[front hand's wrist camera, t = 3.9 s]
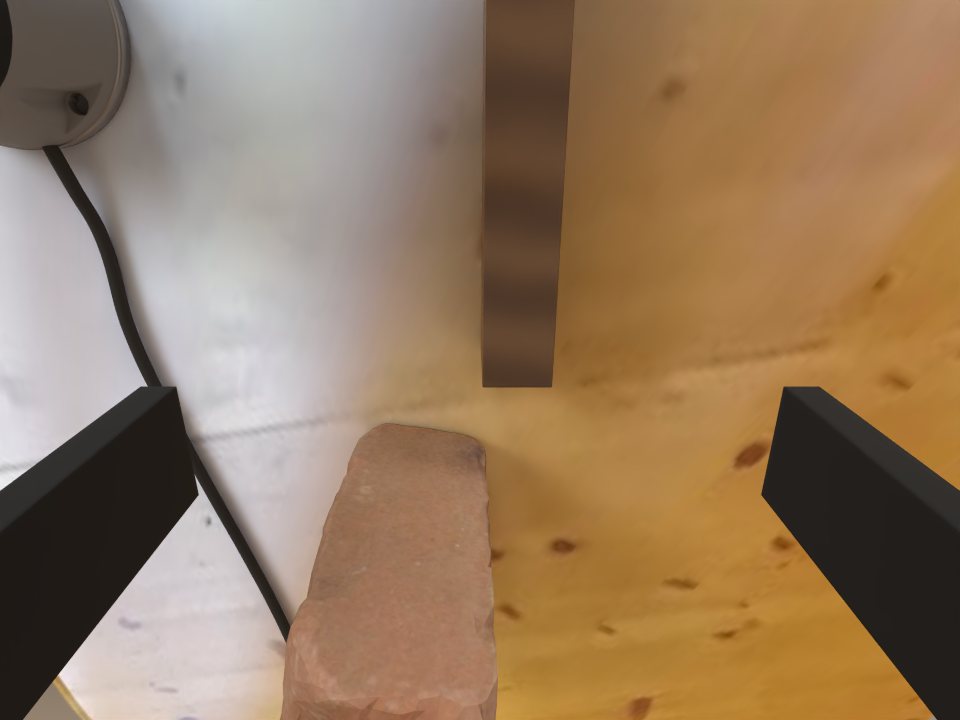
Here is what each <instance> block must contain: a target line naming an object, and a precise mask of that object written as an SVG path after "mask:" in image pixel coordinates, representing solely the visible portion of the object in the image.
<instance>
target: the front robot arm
mask: <svg viewBox="0 0 960 720" xmlns="http://www.w3.org/2000/svg"><path fill="white" fill-rule="evenodd" d="M129 72H130V42H129V35H128V29H127V25H126V21H125V17H124V14H123V11H122V8H121V5H120V2H119V0H0V146H5V147H10V148H17V149H26V150H41V149H43V151H44V152H45V154H46V156H47V157H48V159H49V161H50V163H51V164H52V166H53V168H54V169H55V171H56V173H57V175H58V176H59V178H60V180H61V182H62V183H63V185H64V187H65V188H66V190H67V192H68V193H69V195H70V197H71V198H72V200H73V201H74V203H75V205H76V206H77V208H78V209H79V211H80V212H81V214H82V215H83V217H84V219H85V220H86V222H87V224H88V226H89V227H90V229H91V231H92V234H93V236H94V238H95V241H96V243H97V246H98V248H99V251H100V254H101V257H102V260H103V263H104V266H105V270H106V274H107V278H108V282H109V286H110V290H111V294H112V298H113V302H114V306H115V309H116V313H117V316H118V319H119V322H120V325H121V328H122V330H123V333H124V335H125V338H126V340H127V343H128V345H129V348H130V350H131V352H132V354H133V357H134V359H135V361H136V363H137V365H138V368H139V370H140V372H141V374H142V376H143V378H144V380H145V382H146V384H147V386H148V387H140V388H138V389H137V390H136V391H134V392H133V393H132V394H130V395H129V396H127V397H126V398H125V399H123V400H122V401H121V402H119V403H118V404H117V405H115V406H114V407H113V408H111V409H110V410H109V411H107V412H106V413H105V414H103V415H102V416H101V417H99V418H98V419H96V420H95V421H94V422H92V423H91V424H90V425H88V426H87V427H86V428H84V429H83V430H82V431H80V432H79V433H78V434H76V435H75V436H74V437H72V438H71V439H70V440H68V441H67V442H65V443H64V444H63V445H61V446H60V447H59V448H57V449H56V450H55V451H53V452H52V453H51V454H49V455H48V456H47V457H45V458H44V459H43V460H41V461H40V462H38V463H37V464H36V465H34V466H33V467H32V468H30V469H29V470H28V471H26V472H25V473H24V474H22V475H21V476H20V477H18V478H17V479H16V480H14V481H13V482H12V483H10V484H9V485H7V486H6V487H5V488H3V489H2V490H1V491H0V720H23V719H24V718H25V716H26V715H27V714H28V713H29V711H30V710H31V709H32V707H33V706H34V705H35V704H36V702H37V701H38V700H39V698H40V697H41V696H42V695H43V693H44V692H45V691H46V689H47V688H48V687H49V686H50V684H51V683H52V682H53V681H54V679H55V678H56V677H57V675H58V674H59V673H60V672H61V670H62V669H63V668H64V666H65V665H66V664H67V663H68V661H69V660H70V659H71V658H72V656H73V655H74V654H75V652H76V651H77V650H78V649H79V647H80V646H81V645H82V643H83V642H84V641H85V640H86V638H87V637H88V636H89V635H90V633H91V632H92V631H93V629H94V628H95V627H96V626H97V624H98V623H99V622H100V620H101V619H102V618H103V617H104V615H105V614H106V613H107V611H108V610H109V609H110V608H111V606H112V605H113V604H114V603H115V601H116V600H117V599H118V597H119V596H120V595H121V594H122V592H123V591H124V590H125V588H126V587H127V586H128V585H129V583H130V582H131V581H132V580H133V578H134V577H135V576H136V574H137V573H138V572H139V571H140V569H141V568H142V567H143V565H144V564H145V563H146V562H147V560H148V559H149V558H150V556H151V555H152V554H153V553H154V551H155V550H156V549H157V548H158V546H159V545H160V544H161V542H162V541H163V540H164V539H165V537H166V536H167V535H168V533H169V532H170V531H171V530H172V528H173V527H174V526H175V525H176V523H177V522H178V521H179V519H180V518H181V517H182V516H183V514H184V513H185V512H186V510H187V509H188V508H189V507H190V505H191V504H192V503H193V501H194V500H195V499H196V498H197V496H198V495H199V494H198V489H197V484H196V479H195V476H196V478H197V479H198V481H199V483H200V485H201V486H202V488H203V490H204V492H205V494H206V495H207V497H208V499H209V501H210V502H211V504H212V506H213V508H214V509H215V511H216V513H217V515H218V516H219V518H220V520H221V522H222V523H223V525H224V527H225V529H226V530H227V532H228V534H229V535H230V537H231V539H232V541H233V542H234V544H235V546H236V548H237V549H238V551H239V553H240V555H241V557H242V558H243V560H244V562H245V564H246V566H247V567H248V569H249V571H250V573H251V575H252V577H253V578H254V580H255V582H256V584H257V586H258V587H259V589H260V591H261V593H262V595H263V597H264V599H265V601H266V603H267V605H268V606H269V608H270V610H271V612H272V614H273V616H274V618H275V620H276V623H277V625H278V627H279V629H280V631H281V633H282V635H283V637H284V639H285V641H286V644H287V639H288V635H289V631H290V628H291V627H290V625H289V623H288V621H287V619H286V617H285V615H284V613H283V611H282V608H281V606H280V604H279V602H278V600H277V598H276V596H275V594H274V593H273V591H272V589H271V587H270V585H269V583H268V581H267V579H266V577H265V575H264V574H263V572H262V570H261V568H260V566H259V564H258V563H257V561H256V559H255V557H254V555H253V553H252V551H251V550H250V548H249V546H248V544H247V542H246V541H245V539H244V537H243V535H242V533H241V532H240V530H239V528H238V526H237V525H236V523H235V521H234V519H233V518H232V516H231V514H230V512H229V511H228V509H227V507H226V505H225V503H224V502H223V500H222V498H221V496H220V494H219V493H218V491H217V489H216V487H215V485H214V484H213V482H212V480H211V478H210V476H209V474H208V473H207V471H206V469H205V467H204V465H203V464H202V462H201V460H200V458H199V456H198V454H197V453H196V451H195V449H194V447H193V445H192V443H191V442H190V440H189V438H188V436H187V434H186V431H185V427H184V422H183V417H182V412H181V407H180V403H179V398H178V393H177V388H176V387H162V385H161V383H160V381H159V379H158V377H157V375H156V373H155V371H154V369H153V367H152V365H151V362H150V360H149V358H148V356H147V354H146V351H145V349H144V347H143V344H142V342H141V339H140V337H139V334H138V332H137V329H136V326H135V324H134V321H133V318H132V315H131V311H130V308H129V304H128V300H127V296H126V292H125V288H124V284H123V279H122V275H121V271H120V267H119V264H118V260H117V257H116V254H115V251H114V248H113V245H112V242H111V240H110V237H109V235H108V233H107V230H106V228H105V226H104V224H103V222H102V220H101V218H100V216H99V215H98V213H97V211H96V210H95V208H94V206H93V205H92V203H91V202H90V200H89V199H88V197H87V195H86V194H85V192H84V190H83V189H82V187H81V185H80V184H79V182H78V180H77V178H76V176H75V175H74V173H73V171H72V169H71V168H70V166H69V164H68V162H67V161H66V159H65V157H64V155H63V153H62V152H61V150H60V148H63V147H68V146H72V145H75V144H78V143H80V142H82V141H85V140H86V139H88V138H90V137H92V136H93V135H95V134H96V133H97V132H99V131H100V130H101V129H102V128H103V127H104V126H105V125H106V124H107V123H108V122H109V121H110V119H111V118H112V117H113V116H114V114H115V112H116V111H117V109H118V108H119V106H120V103H121V101H122V99H123V97H124V94H125V91H126V88H127V83H128V79H129ZM194 474H195V475H194ZM761 495H762V496H763V498H764V499H765V500H766V501H767V503H768V504H769V505H770V507H771V508H772V509H773V510H774V512H775V513H776V514H777V516H778V517H779V518H780V519H781V521H782V522H783V523H784V525H785V526H786V527H787V528H788V530H789V531H790V532H791V533H792V535H793V536H794V537H795V539H796V540H797V541H798V542H799V544H800V545H801V546H802V548H803V549H804V550H805V551H806V553H807V554H808V555H809V556H810V558H811V559H812V560H813V562H814V563H815V564H816V565H817V567H818V568H819V569H820V571H821V572H822V573H823V574H824V576H825V577H826V578H827V580H828V581H829V582H830V583H831V585H832V586H833V587H834V588H835V590H836V591H837V592H838V594H839V595H840V596H841V597H842V599H843V600H844V601H845V603H846V604H847V605H848V606H849V608H850V609H851V610H852V611H853V613H854V614H855V615H856V617H857V618H858V619H859V620H860V622H861V623H862V624H863V626H864V627H865V628H866V629H867V631H868V632H869V633H870V635H871V636H872V637H873V638H874V640H875V641H876V642H877V643H878V645H879V646H880V647H881V649H882V650H883V651H884V652H885V654H886V655H887V656H888V658H889V659H890V660H891V661H892V663H893V664H894V665H895V666H896V668H897V669H898V670H899V672H900V673H901V674H902V675H903V677H904V678H905V679H906V681H907V682H908V683H909V684H910V686H911V687H912V688H913V690H914V691H915V692H916V693H917V695H918V696H919V697H920V698H921V700H922V701H923V702H924V704H925V705H926V706H927V707H928V709H929V710H930V711H931V713H932V714H933V715H934V716H935V718H936V719H937V720H960V491H959V490H958V489H957V488H955V487H954V486H953V485H951V484H950V483H948V482H947V481H946V480H944V479H943V478H942V477H940V476H939V475H938V474H936V473H935V472H934V471H932V470H931V469H930V468H928V467H927V466H926V465H924V464H923V463H922V462H920V461H919V460H917V459H916V458H915V457H913V456H912V455H911V454H909V453H908V452H907V451H905V450H904V449H903V448H901V447H900V446H899V445H897V444H896V443H895V442H893V441H892V440H890V439H889V438H888V437H886V436H885V435H884V434H882V433H881V432H880V431H878V430H877V429H876V428H874V427H873V426H872V425H870V424H869V423H868V422H866V421H865V420H864V419H862V418H861V417H859V416H858V415H857V414H855V413H854V412H853V411H851V410H850V409H849V408H847V407H846V406H845V405H843V404H842V403H841V402H839V401H838V400H837V399H835V398H834V397H833V396H831V395H830V394H828V393H827V392H826V391H824V390H823V389H822V388H820V387H784V388H783V393H782V398H781V403H780V407H779V412H778V417H777V422H776V427H775V431H774V436H773V441H772V446H771V451H770V455H769V460H768V465H767V470H766V475H765V479H764V484H763V489H762V494H761Z"/></svg>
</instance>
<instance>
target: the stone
mask: <svg viewBox="0 0 960 720" xmlns="http://www.w3.org/2000/svg"><path fill="white" fill-rule="evenodd" d="M488 503H489V496H488V483H487V479H486V454H485V450H484V447H483V446H481V445H480V444H478V442H477V441H476V440H475V439H474V438H471V437H468V436H465V435H462V434H458V433H451V432H444V431H438V430H434V429H428V428H420V427H413V426H403V425H397V424H387V423H385V424H383V425H380V426H377V427H375V428H373V429H372V430H371V431H369V432H368V433H367V434H365V435H364V436H363V437H362V438H360V439H359V441H358V443H357V445H356V447H355V449H354V451H353V453H352V456H351V458H350V460H349V463H348V470H347V475H346V476H345V477H344V479H343V482H342V485H341V487H340V490H339V491H338V493H337V494H336V496H335V499H334V502H333V505H332V507H331V509H330V511H329V513H328V516H327V519H326V521H325V524H324V527H323V536H322V539H321V542H320V546H319V549H318V553H317V556H316V559H315V563H314V566H313V570H312V574H311V579H310V584H309V589H308V595H307V598H306V599H305V600H304V602H303V603H302V604H301V605H300V607H299V609H298V612H297V614H296V617H295V619H294V621H293V624H292V625H291V628H290V631H289V635H288V639H287V645H286V660H285V670H284V680H283V706H282V714H281V718H280V720H495V717H496V707H497V679H498V675H497V652H496V645H495V639H494V632H493V621H494V592H493V582H492V569H491V567H490V565H491V548H490V537H489V531H490V526H489V517H488Z"/></svg>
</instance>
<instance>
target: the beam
mask: <svg viewBox="0 0 960 720" xmlns="http://www.w3.org/2000/svg"><path fill="white" fill-rule="evenodd" d="M574 2H575V0H484V31H483V157H482V282H481V362H482V386H483V387H552V377H553V360H554V343H555V326H556V309H557V292H558V275H559V258H560V241H561V224H562V207H563V190H564V173H565V156H566V139H567V122H568V104H569V87H570V70H571V53H572V36H573V19H574Z"/></svg>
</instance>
